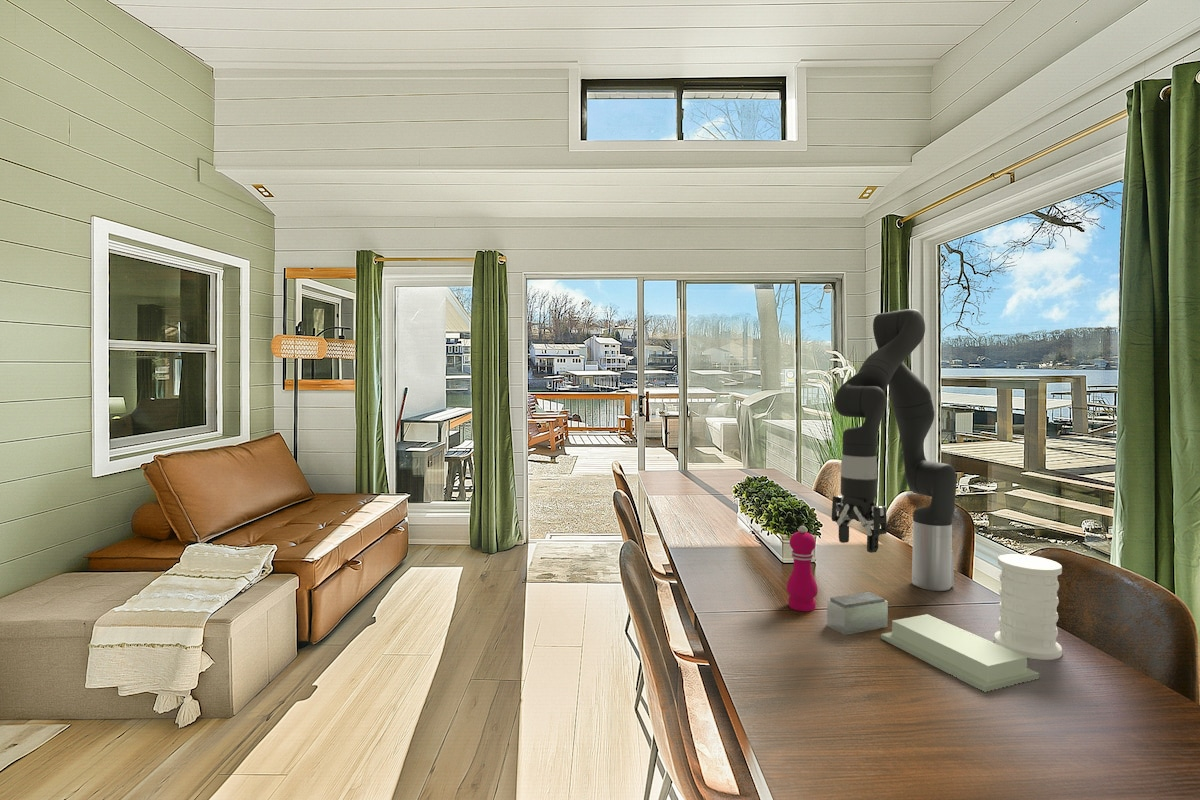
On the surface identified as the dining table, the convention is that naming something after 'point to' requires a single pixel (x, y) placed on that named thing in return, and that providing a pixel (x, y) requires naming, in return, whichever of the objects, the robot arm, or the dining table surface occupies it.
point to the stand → (960, 652)
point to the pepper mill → (802, 572)
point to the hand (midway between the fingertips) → (857, 546)
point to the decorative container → (1029, 606)
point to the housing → (857, 613)
